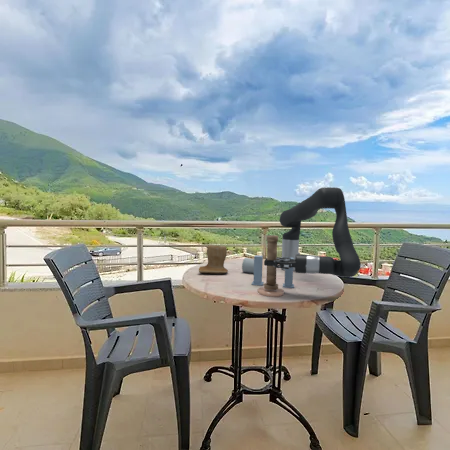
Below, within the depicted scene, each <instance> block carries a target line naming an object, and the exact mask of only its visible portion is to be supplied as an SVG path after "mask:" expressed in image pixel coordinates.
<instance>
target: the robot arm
mask: <svg viewBox="0 0 450 450" xmlns="http://www.w3.org/2000/svg"><path fill="white" fill-rule="evenodd" d="M320 209H321V210H322V209H323V210H324V209H325V210H326V209H334V212H335V217H336V218H335V221H334V225H333V227H332V231H331V232H332V233H331V234H332V235H331V236H332V240H333V245H334V248H335V251H336V253H338V255H339V258H340V260H339V259H334V258H333V257H332V256H325V255H324V256H322V255H314V254H301V253H300V252H299V250H300V248H299V247H300V235H301V228H302V227H301V225H302V221H307V220H310V219H311V218H313V217H315V216H316V215H317V214H318V211H319V210H320ZM279 223H280V225H281V226H282V227H284V228H291V229H290V230H289V231H287V232H284V233H283V234H282V238H281V239H282V240H281V241H282V244H281V257H280V256H279V257H278V256H277V260H274V261H273V260H267V257H266V258H265V260H264V261H263V265H264V266H265V267H267V266H274V267H275V268H276V269H281V270H282V271H285V269H290V268H293V272H295V273H297V274H308V275H309V274H310V275H312V274H315V275H316V274H321V275H331V276H332V275H333V276H337V277H341V278H352V277H354V276H356V275H357V274H358V273H359V272H360V270H361V267H362V266H361V263H362V262H361V260H360V256H359V255H358V253H357V250H356V248H355V247H354V241H353V239H352V236H351V233H350V229H349V223H348V215H347V207H346V200H345V195H344V191H343V190H342V188H339V187H331V186H330V187H320V188H319V189H317V190H316V191H315V192H314V193H313V194H312V195H310V196H309V197H307V198H306V199H304V200H302V201H300V202H299V203H297V204H296V205H295V206H293V207H291V208H289V209H286V210H284V211H282V212H281V213H280V216H279ZM289 257H291V258H294V259H291V258H289Z"/></svg>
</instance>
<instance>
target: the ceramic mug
mask: <svg viewBox="0 0 450 450" xmlns="http://www.w3.org/2000/svg"><path fill="white" fill-rule="evenodd" d="M241 269H242V270H241V271H242V272H243V273H248V274H249V273H250V274H254V258H248V257H245V258H243V260H242V263H241Z"/></svg>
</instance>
